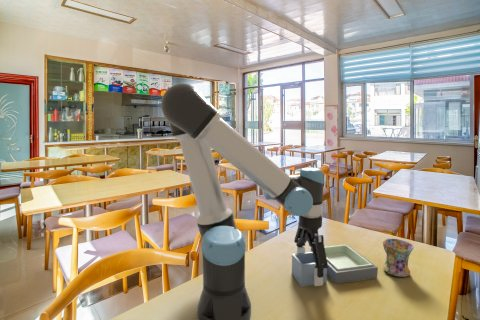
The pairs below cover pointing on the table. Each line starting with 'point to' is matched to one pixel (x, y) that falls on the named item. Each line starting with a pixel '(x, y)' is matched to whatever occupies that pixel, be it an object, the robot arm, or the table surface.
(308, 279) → the small crate
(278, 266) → the table surface
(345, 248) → the top crate
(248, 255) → the table surface
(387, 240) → the mug
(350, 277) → the bottom crate
